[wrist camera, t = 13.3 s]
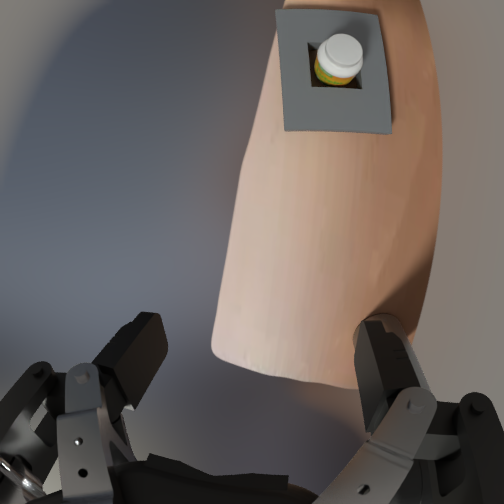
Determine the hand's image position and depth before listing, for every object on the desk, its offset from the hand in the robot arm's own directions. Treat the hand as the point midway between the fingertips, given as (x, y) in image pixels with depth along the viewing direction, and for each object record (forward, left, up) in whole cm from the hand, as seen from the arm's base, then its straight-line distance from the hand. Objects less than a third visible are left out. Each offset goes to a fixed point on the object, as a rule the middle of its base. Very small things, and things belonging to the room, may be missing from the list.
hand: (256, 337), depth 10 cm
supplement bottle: (+14, -14, -30) cm, 36 cm away
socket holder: (+14, -14, -30) cm, 36 cm away
